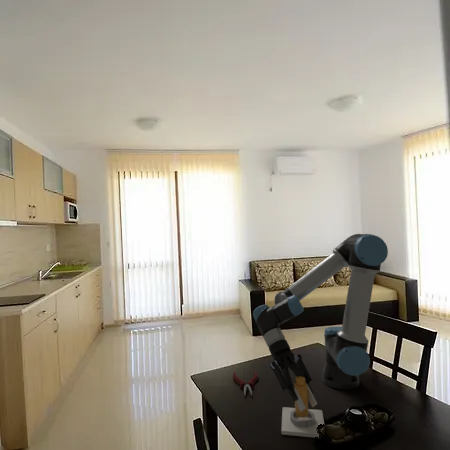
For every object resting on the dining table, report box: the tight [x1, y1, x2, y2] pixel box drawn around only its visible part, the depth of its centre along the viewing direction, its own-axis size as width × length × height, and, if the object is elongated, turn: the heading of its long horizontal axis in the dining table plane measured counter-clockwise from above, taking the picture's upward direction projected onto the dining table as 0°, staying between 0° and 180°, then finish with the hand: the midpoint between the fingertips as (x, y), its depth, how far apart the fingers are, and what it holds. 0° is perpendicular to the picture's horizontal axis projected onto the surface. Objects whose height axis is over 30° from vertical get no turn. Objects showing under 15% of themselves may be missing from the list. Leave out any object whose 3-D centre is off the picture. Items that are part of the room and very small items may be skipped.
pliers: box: [232, 371, 259, 397], centre depth 137 cm, size 12×20×3 cm, turn 1°
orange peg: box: [293, 376, 309, 417], centre depth 109 cm, size 4×4×12 cm
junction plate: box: [281, 406, 325, 439], centre depth 109 cm, size 14×14×3 cm
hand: (309, 407), depth 106 cm, fingers closed on orange peg, 4 cm apart
